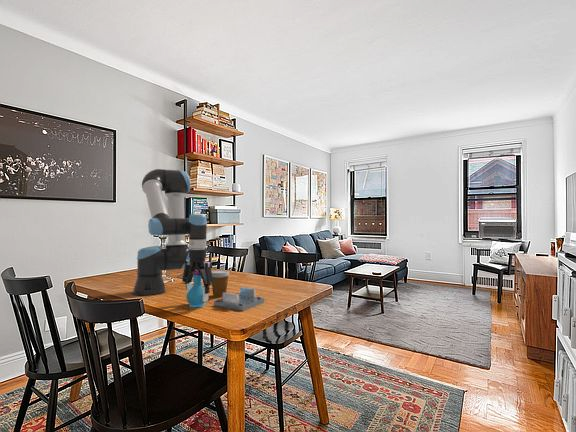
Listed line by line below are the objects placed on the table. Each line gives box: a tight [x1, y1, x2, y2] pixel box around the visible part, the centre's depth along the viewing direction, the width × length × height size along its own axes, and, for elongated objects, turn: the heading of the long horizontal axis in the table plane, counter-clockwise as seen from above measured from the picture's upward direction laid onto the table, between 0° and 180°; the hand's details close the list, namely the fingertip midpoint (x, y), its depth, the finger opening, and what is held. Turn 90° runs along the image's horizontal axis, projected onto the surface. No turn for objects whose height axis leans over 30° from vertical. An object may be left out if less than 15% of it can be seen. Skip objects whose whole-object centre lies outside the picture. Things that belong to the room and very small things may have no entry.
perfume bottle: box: [186, 270, 207, 308], centre depth 144 cm, size 9×9×15 cm
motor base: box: [213, 286, 265, 312], centre depth 146 cm, size 16×16×6 cm
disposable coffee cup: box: [211, 269, 230, 298], centre depth 161 cm, size 10×10×12 cm
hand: (197, 299), depth 144 cm, fingers closed on perfume bottle, 9 cm apart
